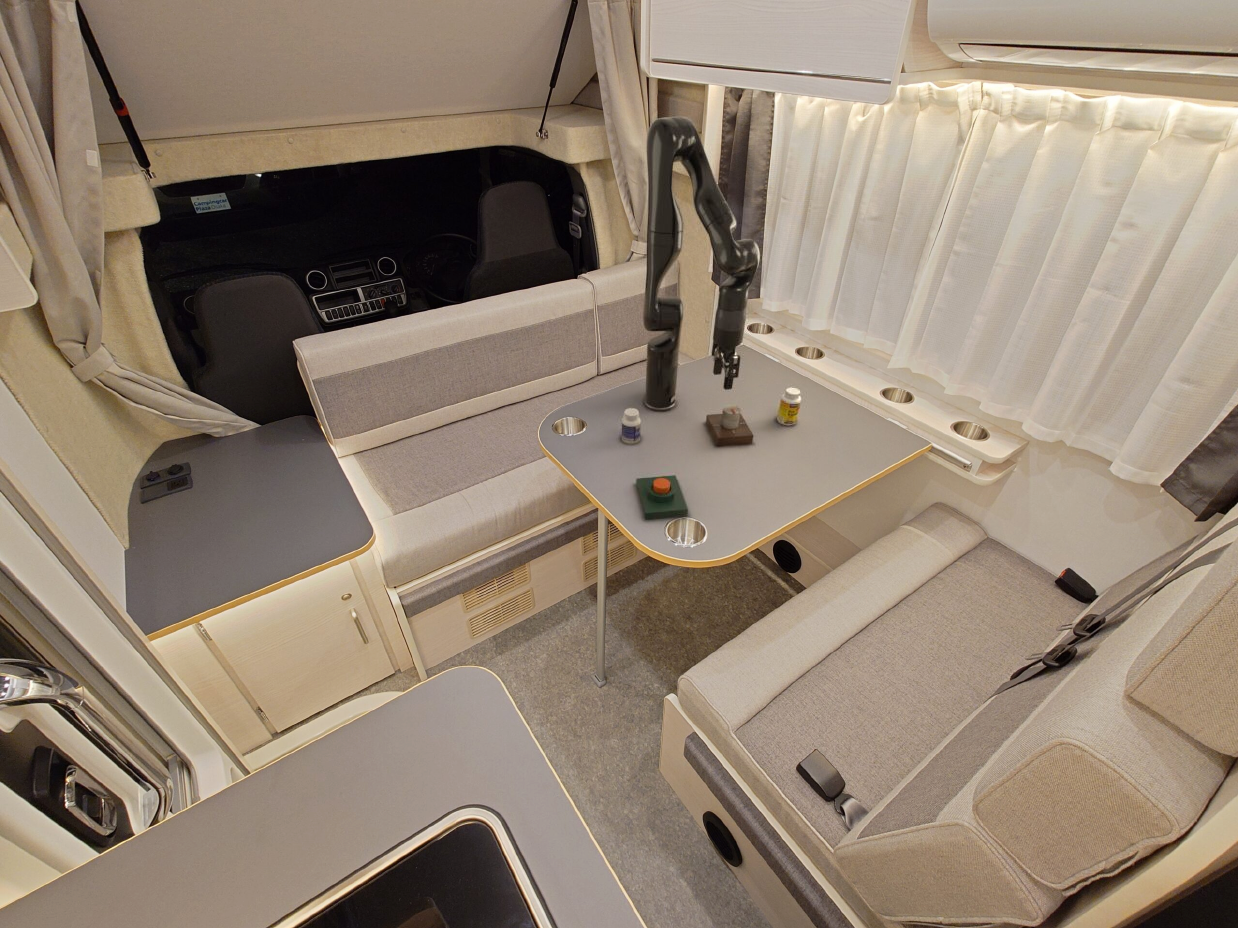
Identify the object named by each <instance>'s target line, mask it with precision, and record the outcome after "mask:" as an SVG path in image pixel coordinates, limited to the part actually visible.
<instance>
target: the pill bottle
mask: <svg viewBox="0 0 1238 928" xmlns="http://www.w3.org/2000/svg"><path fill="white" fill-rule="evenodd" d="M641 426H642V420H641V418H640V412H639V409H637V408H633V407H629V408H626V409H625V410H624V411H623V417H622V419H621V434H620V435H621V437H620V438H621V440H622V442H623V443H625V444H633V445H634V444H636V443H639V442H640V440H641V429H642V427H641Z"/></svg>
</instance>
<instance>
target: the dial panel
mask: <svg viewBox="0 0 1238 928" xmlns="http://www.w3.org/2000/svg"><path fill="white" fill-rule="evenodd" d="M721 420H722V413H713V414H711V413H710V414H706V418H705V426H706V427H707V429H708V431H709V433H710V435H711V438H712V440H713V441H714V444H715V445H716V447H719V448H720V447H729V446H731V447H732V446H743V445H744V446H745V445H752V444H753V440H754V433H753V432H752V430H751V428H750V427H749V425H748V423H747V422H746V420H745V419H744V417H743V414H742V413H740V417H739V423H738V427H737V428H735V429H727V428H724V427H723V426H722V425H721Z"/></svg>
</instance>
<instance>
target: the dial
mask: <svg viewBox="0 0 1238 928" xmlns="http://www.w3.org/2000/svg"><path fill="white" fill-rule="evenodd" d="M721 412H722V413H721V414H722V420H721V425H722V426H723V427H724V428H727V429H735V428H737V427H738V423H739V417H740V414H741V408H740V407H739V406H737V405H734V404H726V405H724V406H723V407H722V411H721Z"/></svg>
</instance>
